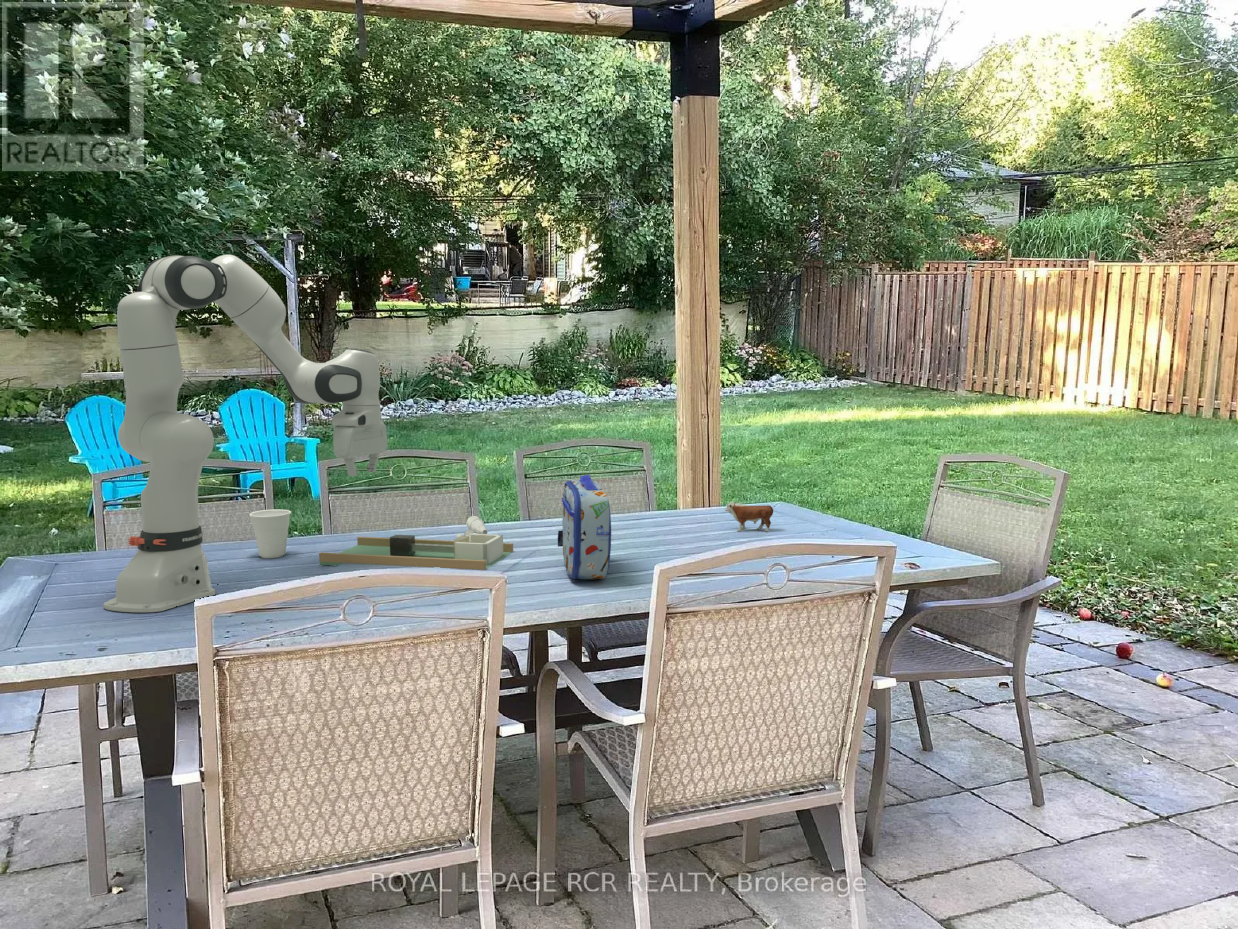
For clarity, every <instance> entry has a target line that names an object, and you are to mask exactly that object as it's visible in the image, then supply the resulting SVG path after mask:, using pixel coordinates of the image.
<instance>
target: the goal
mask: <svg viewBox="0 0 1238 929" xmlns="http://www.w3.org/2000/svg"><path fill="white" fill-rule="evenodd" d="M503 543H504V535H502V534H490V533H489V534H488V533H487V534H476V533H473V534H471V543H467V542H456V543H455V559H467V560H486V565H489V564H490V563H492V562H493V561H495V560H496V559H498V558H500V557H501V556H503Z"/></svg>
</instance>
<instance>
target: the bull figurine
mask: <svg viewBox="0 0 1238 929" xmlns="http://www.w3.org/2000/svg"><path fill="white" fill-rule="evenodd" d="M724 511H725V512H728V513H729V514H731V515H732V517H733V518H734V520H736V522H738V523H739V527H738V529H737V530H736V532H737V533H738V532H739V533H740V532H741V531H744V530H746V522H752V523H753V524H754V525H755V524H757V522H758V521H760V520H761V522H760V525H759V526H758V527H757V528H756V530H757V531H760V530H762V529H763V527H764V525H765V526H766V528H765V529H764V532H765V533H769V531H770V527H771V524H772V522H771V520H770V519H771V517H772V516H773V515H774V508H773V507H772V506H771V505H769V504H768V505H748V504H743V503H741V502H738V503H737V502H734V501H730V502H729V503H728V504H727V506H725V508H724Z"/></svg>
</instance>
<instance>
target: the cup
mask: <svg viewBox="0 0 1238 929" xmlns="http://www.w3.org/2000/svg"><path fill="white" fill-rule="evenodd" d="M291 514H292V511H291V510H289V509H279V508H278V509H263V510H261V509H260V510H256V511H253V512H250V513H249V514H248V515H249V517H250V521H251V525H252V528H253V531H254V532H253V533H254V537H255V541H256V545H257V546H256V547H257V551H258V554H259V557H260V558H262V559H277V558H278V559H279V558H282V557H284V556H285V555H286V553H287V552H286V550H287V543H288V535H289V534H288V533H289V527H290V526H289V525H290V518H291ZM283 555H284V556H283ZM281 556H282V557H281Z"/></svg>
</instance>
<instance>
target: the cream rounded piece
mask: <svg viewBox="0 0 1238 929" xmlns="http://www.w3.org/2000/svg"><path fill="white" fill-rule="evenodd" d="M465 523H466V524H465V525H466V527H467V529H468V530H466V531H464V534H462V533H460V532H459V533H457V534H456V538H458V537H460V536H469V542H471V534H488V532H489V531H488V530H487V527H486V526H485V525H486V524H485V522H484V521H483V520H482V519H481V518H480V517H479V516H477V515H471V516H469V517H468V518H467V520H466V522H465Z"/></svg>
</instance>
